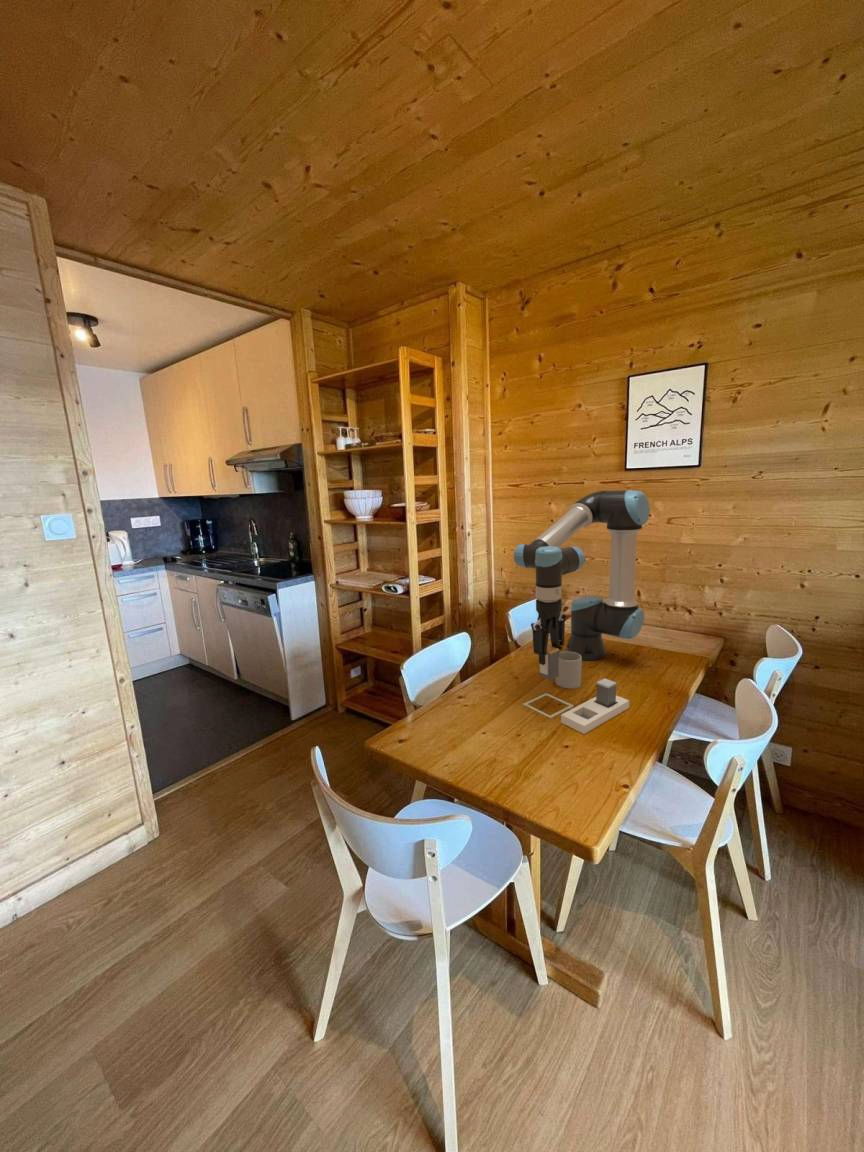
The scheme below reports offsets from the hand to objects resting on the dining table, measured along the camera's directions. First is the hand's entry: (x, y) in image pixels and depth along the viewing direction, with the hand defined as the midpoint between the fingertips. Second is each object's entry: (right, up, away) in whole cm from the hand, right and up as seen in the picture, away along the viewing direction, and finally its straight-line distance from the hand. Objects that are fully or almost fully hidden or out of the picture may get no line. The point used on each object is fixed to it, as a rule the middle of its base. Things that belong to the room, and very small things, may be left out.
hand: (549, 670), depth 142 cm
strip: (+13, -13, -4) cm, 19 cm away
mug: (+12, -9, +18) cm, 23 cm away
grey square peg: (+17, -12, -2) cm, 20 cm away
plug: (0, -2, 0) cm, 2 cm away
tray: (0, -12, +3) cm, 13 cm away
